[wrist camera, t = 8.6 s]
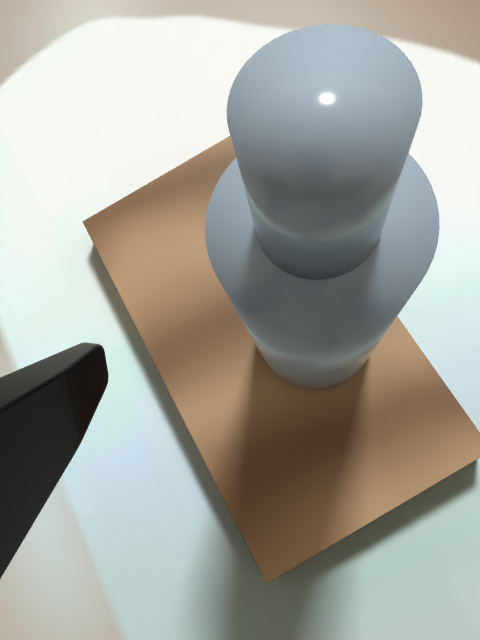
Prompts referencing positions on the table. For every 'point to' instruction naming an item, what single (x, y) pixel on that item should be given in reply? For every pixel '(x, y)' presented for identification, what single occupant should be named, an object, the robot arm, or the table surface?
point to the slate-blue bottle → (322, 200)
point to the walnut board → (273, 387)
